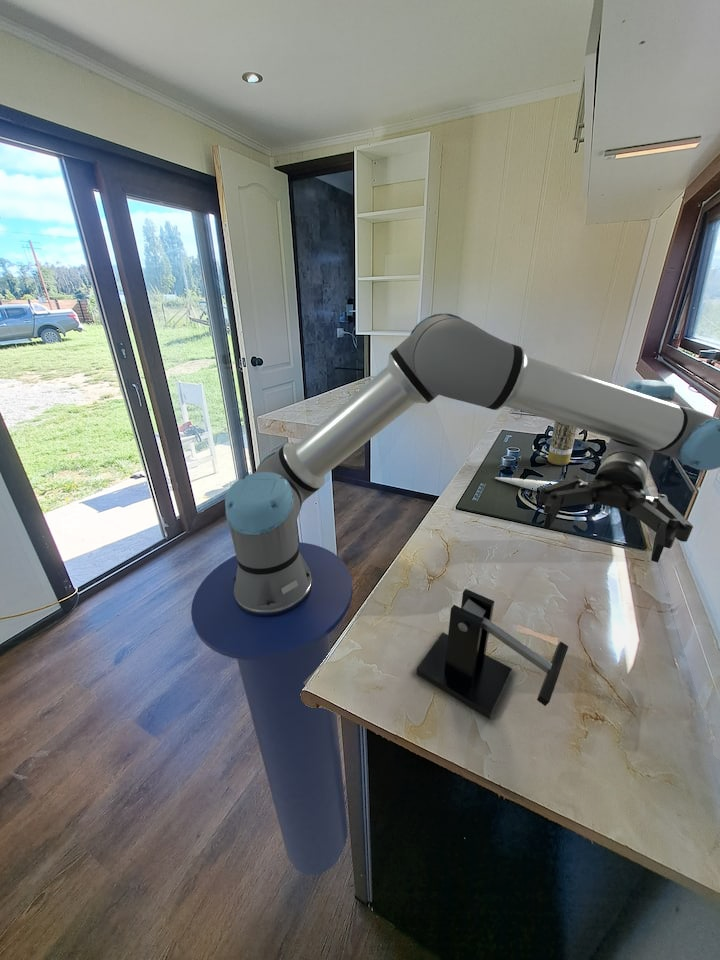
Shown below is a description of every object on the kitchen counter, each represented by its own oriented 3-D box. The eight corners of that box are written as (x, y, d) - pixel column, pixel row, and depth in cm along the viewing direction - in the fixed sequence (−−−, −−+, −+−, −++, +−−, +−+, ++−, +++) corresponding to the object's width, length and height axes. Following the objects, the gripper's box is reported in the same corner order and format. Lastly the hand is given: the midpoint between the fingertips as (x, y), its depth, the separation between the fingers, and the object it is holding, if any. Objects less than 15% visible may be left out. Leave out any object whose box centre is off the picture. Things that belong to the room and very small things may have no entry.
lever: (562, 652, 54) (571, 643, 52) (542, 709, 47) (552, 700, 45) (474, 593, 60) (479, 583, 58) (444, 635, 53) (450, 625, 51)
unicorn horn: (499, 475, 123) (501, 461, 121) (580, 498, 109) (584, 483, 107) (493, 480, 120) (495, 466, 118) (574, 505, 106) (578, 489, 103)
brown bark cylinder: (557, 456, 135) (573, 385, 123) (573, 464, 129) (591, 390, 118) (542, 460, 133) (556, 388, 121) (557, 467, 127) (574, 392, 116)
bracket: (510, 673, 61) (526, 604, 54) (489, 719, 54) (504, 647, 48) (442, 637, 67) (448, 571, 61) (416, 674, 61) (419, 605, 54)
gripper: (701, 518, 64) (702, 592, 49) (542, 481, 78) (506, 529, 63) (718, 478, 60) (725, 545, 46) (549, 446, 74) (513, 489, 60)
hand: (598, 536), depth 54 cm, fingers open, 13 cm apart
